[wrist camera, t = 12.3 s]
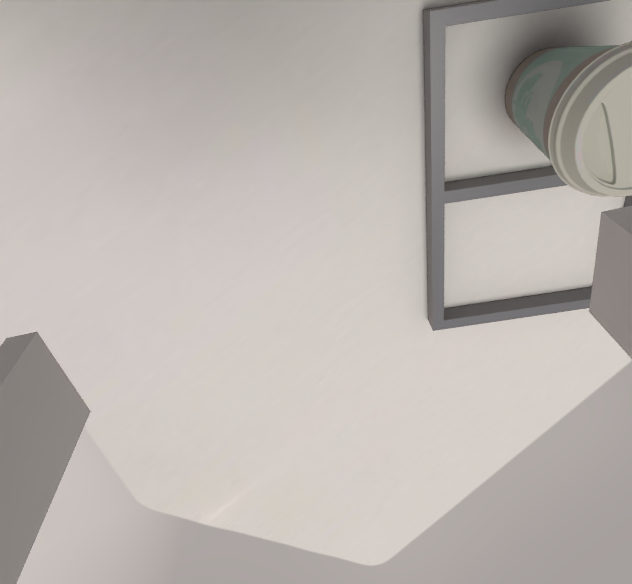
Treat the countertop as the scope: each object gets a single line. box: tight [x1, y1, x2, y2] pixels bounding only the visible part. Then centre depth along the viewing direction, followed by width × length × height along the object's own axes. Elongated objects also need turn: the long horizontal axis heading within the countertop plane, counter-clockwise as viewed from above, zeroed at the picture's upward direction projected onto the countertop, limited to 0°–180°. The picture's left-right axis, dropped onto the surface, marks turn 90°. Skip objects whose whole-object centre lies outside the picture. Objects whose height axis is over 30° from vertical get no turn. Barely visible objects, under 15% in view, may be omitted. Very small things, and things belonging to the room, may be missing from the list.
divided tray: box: [423, 0, 632, 331], centre depth 39 cm, size 26×19×2 cm
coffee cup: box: [505, 42, 632, 197], centre depth 31 cm, size 8×9×12 cm
